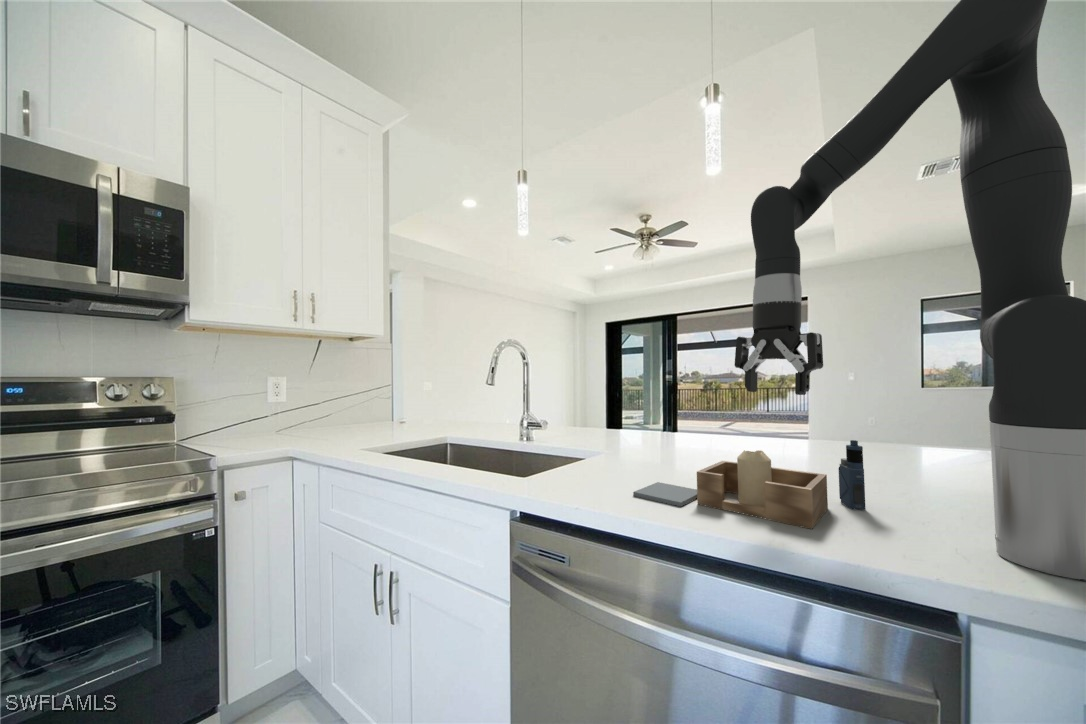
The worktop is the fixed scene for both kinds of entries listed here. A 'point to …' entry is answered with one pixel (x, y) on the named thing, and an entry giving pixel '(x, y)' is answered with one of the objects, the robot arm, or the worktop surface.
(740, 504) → the box
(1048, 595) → the worktop surface
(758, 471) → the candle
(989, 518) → the worktop surface
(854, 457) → the vaping device
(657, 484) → the mat
